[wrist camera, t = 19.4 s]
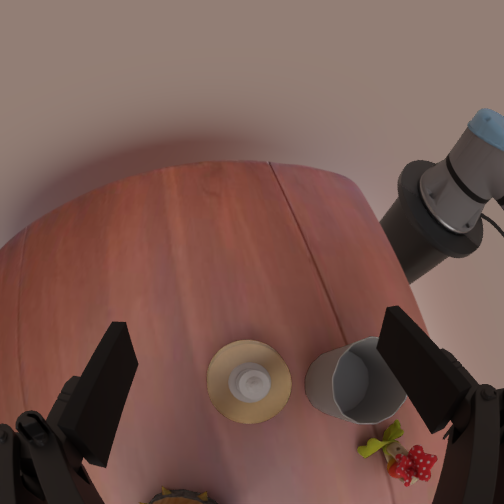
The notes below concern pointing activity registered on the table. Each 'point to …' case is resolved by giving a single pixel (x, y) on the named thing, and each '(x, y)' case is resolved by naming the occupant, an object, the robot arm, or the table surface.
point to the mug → (181, 497)
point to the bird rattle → (401, 456)
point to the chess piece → (249, 382)
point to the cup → (354, 384)
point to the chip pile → (238, 355)
